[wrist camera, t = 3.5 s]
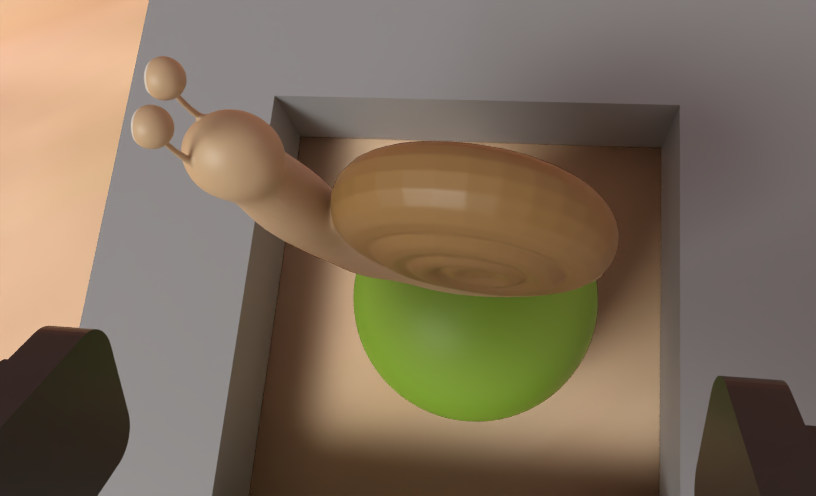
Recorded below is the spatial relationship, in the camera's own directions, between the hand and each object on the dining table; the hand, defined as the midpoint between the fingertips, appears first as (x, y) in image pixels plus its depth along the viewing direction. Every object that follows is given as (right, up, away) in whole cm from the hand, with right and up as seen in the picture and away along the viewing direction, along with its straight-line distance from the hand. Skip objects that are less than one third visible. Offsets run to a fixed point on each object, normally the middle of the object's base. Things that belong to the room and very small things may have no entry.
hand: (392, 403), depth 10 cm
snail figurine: (+2, 0, +10) cm, 10 cm away
